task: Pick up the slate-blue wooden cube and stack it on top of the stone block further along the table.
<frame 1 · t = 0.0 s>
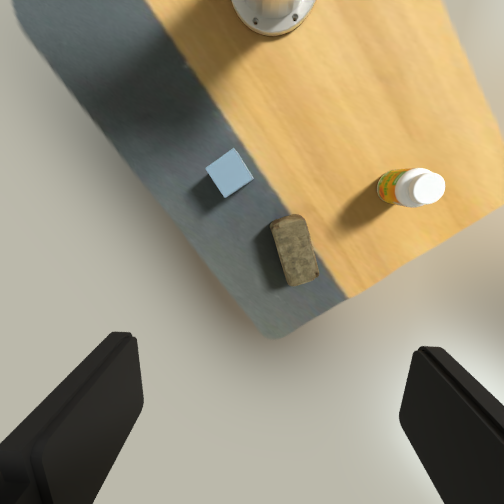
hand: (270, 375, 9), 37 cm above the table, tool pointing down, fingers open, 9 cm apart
supplement bottle: (392, 186, 42), on the table
stone block: (292, 245, 46), on the table
slate cube: (233, 174, 43), on the table
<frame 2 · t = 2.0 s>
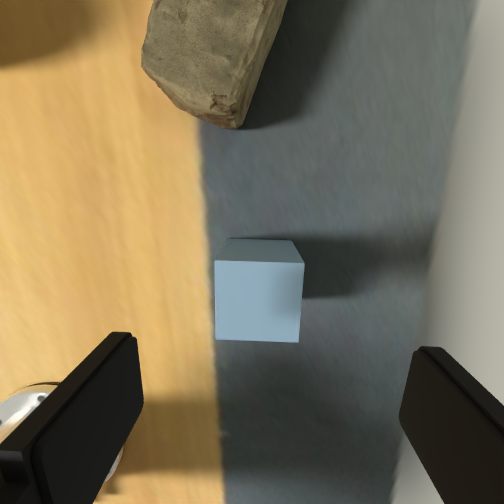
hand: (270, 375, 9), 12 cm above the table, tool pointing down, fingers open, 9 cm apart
stone block: (231, 34, 17), on the table
slate cube: (258, 269, 21), on the table
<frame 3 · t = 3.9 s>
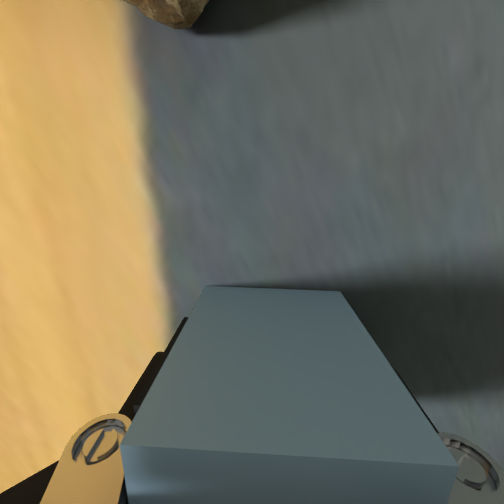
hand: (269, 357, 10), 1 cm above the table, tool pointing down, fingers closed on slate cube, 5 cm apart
slate cube: (269, 346, 10), on the table, touching gripper
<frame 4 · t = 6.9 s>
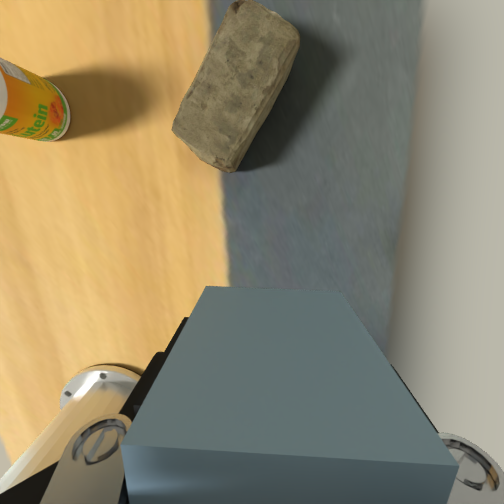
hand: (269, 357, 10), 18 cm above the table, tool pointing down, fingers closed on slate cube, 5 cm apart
supplement bottle: (45, 112, 24), on the table
stone block: (237, 106, 24), on the table
slate cube: (269, 346, 10), point 17 cm above the table, touching gripper
when the fingers open (7 cm above the table, at t = 9.8 s): slate cube drops 1 cm, resting on stone block.
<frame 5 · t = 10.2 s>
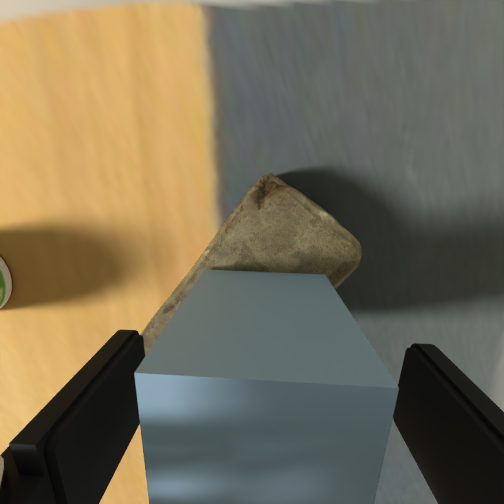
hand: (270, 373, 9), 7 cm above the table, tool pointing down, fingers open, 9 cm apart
stone block: (246, 271, 16), on the table, touching slate cube
slate cube: (262, 325, 11), point 5 cm above the table, touching stone block
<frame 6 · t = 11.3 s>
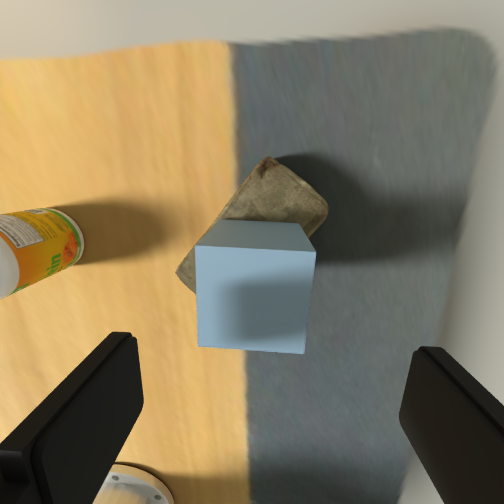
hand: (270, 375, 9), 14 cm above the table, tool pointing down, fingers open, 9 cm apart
supplement bottle: (58, 237, 23), on the table
stone block: (251, 231, 22), on the table, touching slate cube
slate cube: (257, 258, 17), point 5 cm above the table, touching stone block
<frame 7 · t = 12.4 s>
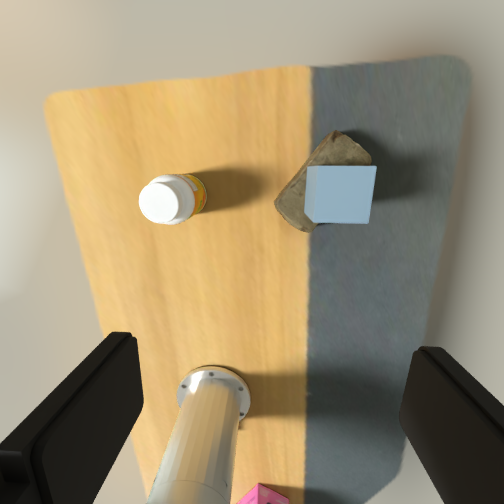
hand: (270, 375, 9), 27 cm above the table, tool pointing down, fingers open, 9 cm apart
supplement bottle: (188, 194, 34), on the table
stone block: (314, 183, 33), on the table, touching slate cube
slate cube: (328, 190, 29), point 5 cm above the table, touching stone block
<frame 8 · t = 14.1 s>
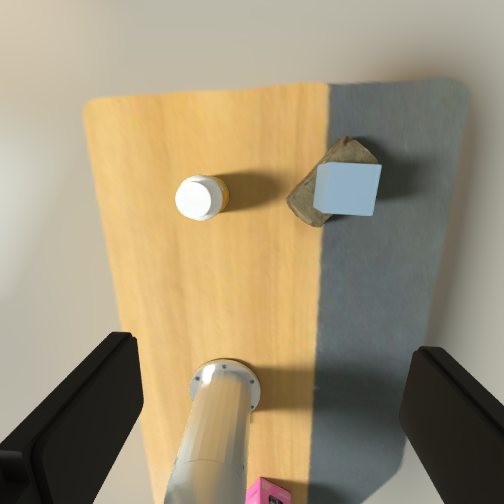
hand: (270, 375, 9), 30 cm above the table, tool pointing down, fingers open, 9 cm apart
supplement bottle: (211, 195, 37), on the table
stone block: (323, 184, 36), on the table, touching slate cube
slate cube: (335, 187, 31), point 5 cm above the table, touching stone block
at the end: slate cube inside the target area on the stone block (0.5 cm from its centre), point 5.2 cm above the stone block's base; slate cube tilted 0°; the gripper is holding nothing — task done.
